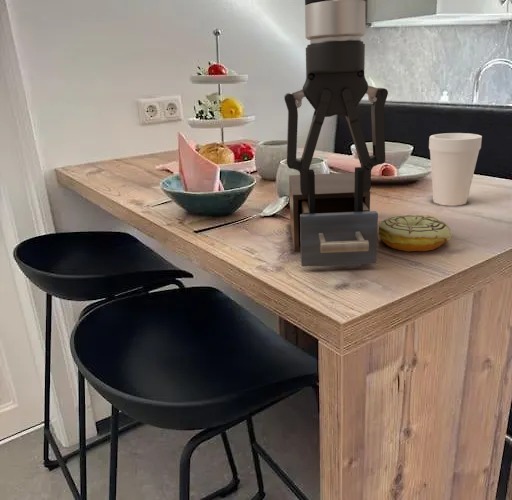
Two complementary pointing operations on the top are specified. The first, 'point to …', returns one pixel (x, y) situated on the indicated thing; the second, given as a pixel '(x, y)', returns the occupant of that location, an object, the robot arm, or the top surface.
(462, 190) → the foam cup
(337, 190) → the cabinet
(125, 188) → the top surface
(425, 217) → the decorated donut
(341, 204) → the drawer
